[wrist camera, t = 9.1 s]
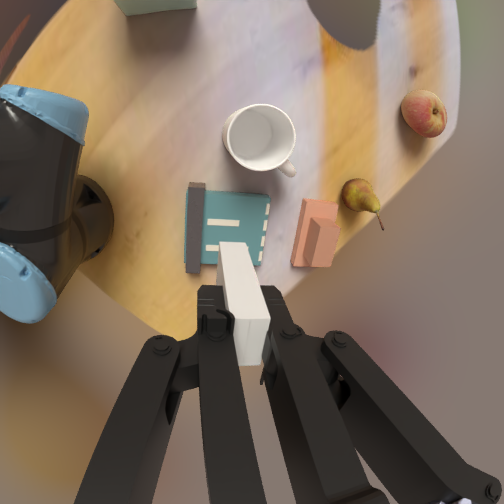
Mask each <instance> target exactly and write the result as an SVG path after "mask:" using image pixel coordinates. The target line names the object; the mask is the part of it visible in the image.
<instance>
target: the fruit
mask: <svg viewBox="0 0 504 504" xmlns="http://www.w3.org/2000/svg"><path fill="white" fill-rule="evenodd" d="M342 198H343V201H344V203H345V205H346V206H347V207H348V208H350V209H351V210H354V211H357V212H361V211H369V212H373V213H377V216H378V219H379V221H380V224H381V228H382V230H384V227H383V225H382V222H381V220H380V218H379V214H378V211H379V210H380V202H379V200H378V198H377V197H376V195H375V194H374V192H373V189H372V186H371V185H370V183H369V182H368V181H366V180H364V179H352V180H349V181H347V182H346V183H345V185H344V186H343V189H342Z"/></svg>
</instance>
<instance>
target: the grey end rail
mask: <svg viewBox="0 0 504 504" xmlns="http://www.w3.org/2000/svg"><path fill="white" fill-rule="evenodd" d="M204 192H205V183H194V182H190V183H189V187H188V204H187V228H186V273H200V261H201V239H202V221H203V206H204Z"/></svg>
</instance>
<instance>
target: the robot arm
mask: <svg viewBox="0 0 504 504" xmlns="http://www.w3.org/2000/svg"><path fill="white" fill-rule="evenodd" d="M88 118H89V111H88V108H87V106H86V105H85V104H84V103H83V102H82V101H79V100H77V99H74V98H71V97H68V96H64V95H61V94H57V93H53V92H49V91H45V90H40V89H35V88H28V87H22V86H18V85H10V84H6V85H3V86H2V87H1V89H0V311H1V312H3V313H4V314H5V315H7V316H8V317H10V318H12V319H14V320H17V321H19V322H23V323H35V322H38V321H40V320H42V319H43V318H44V317H45V316H46V315H47V314H48V312H49V311H50V310H51V309H52V308H53V307H54V306H55V304H56V301H57V299H58V297H59V295H60V294H61V292H62V291H63V289H64V287H65V286H66V284H67V283H68V281H69V280H70V278H71V277H72V275H73V274H74V272H75V270H76V269H77V268H78V266H79V265H80V264H81V263H83V262H85V261H87V260H90V259H92V258H93V257H95V256H96V255H98V254H99V253H100V252H101V251H102V250H103V248H104V247H105V245H106V244H107V242H108V241H109V239H110V237H111V234H112V231H113V225H114V216H113V210H112V206H111V203H110V201H109V199H108V197H107V195H106V193H105V192H104V190H103V189H102V188H101V187H100V186H99V185H98V184H97V183H96V182H95V181H93V180H92V179H90V178H88V177H85V176H82V175H77V174H78V168H79V163H80V158H81V153H82V148H83V146H85V141H84V137H85V132H86V127H87V123H88ZM216 284H217V285H202V286H201V287H200V288H199V290H198V293H197V331H196V333H195V334H194V335H193V336H192V337H190V338H188V339H185V340H182V341H176V340H175V339H174V338H173V337H170V336H167V335H157V336H153V337H151V338H150V339H148V340H147V341H146V343H145V344H144V346H143V348H142V350H141V352H140V354H139V356H138V358H137V359H136V361H135V364H134V365H133V368H132V370H131V372H130V374H129V376H128V378H127V380H126V382H125V384H124V386H123V388H122V390H121V392H120V394H119V397H118V399H117V401H116V403H115V405H114V407H113V409H112V412H111V414H110V416H109V418H108V420H107V423H106V425H105V427H104V429H103V432H102V434H101V436H100V439H99V441H98V443H97V446H96V448H95V450H94V453H93V455H92V458H91V460H90V463H89V465H88V468H87V470H86V473H85V475H84V478H83V480H82V483H81V486H80V488H79V491H78V494H77V496H76V499H75V502H74V504H152V500H153V496H154V493H155V489H156V485H157V481H158V478H159V474H160V471H161V467H162V463H163V460H164V456H165V453H166V449H167V446H168V442H169V439H170V435H171V432H172V428H173V425H174V422H175V418H176V415H177V412H178V408H179V405H180V401H181V398H182V395H183V391H186V390H189V389H193V388H197V387H199V396H200V410H201V411H200V412H201V426H202V438H203V450H204V458H205V459H204V460H205V469H206V478H207V487H208V494H209V501H210V504H267V502H266V498H265V494H264V489H263V485H262V481H261V477H260V472H259V467H258V462H257V458H256V453H255V449H254V444H253V439H252V434H251V429H250V424H249V420H248V414H247V409H246V404H245V398H244V393H243V387H242V382H241V376H240V371H239V366H249V365H260V363H261V359H263V362H264V368H263V372H262V375H261V379H260V385H262V384H263V381H264V382H265V386H266V390H267V394H268V398H269V402H270V406H271V410H272V414H273V418H274V422H275V426H276V429H277V433H278V437H279V441H280V445H281V449H282V452H283V456H284V460H285V464H286V467H287V471H288V475H289V479H290V482H291V486H292V489H293V493H294V497H295V500H296V504H390V503H389V501H388V499H387V497H386V495H385V494H384V493H383V492H382V491H381V490H379V489H376V488H373V487H372V486H371V485H370V483H369V482H368V479H367V477H366V474H365V472H364V469H363V467H362V465H361V462H360V460H359V457H358V455H357V453H356V450H357V451H358V452H359V454H360V455H361V456H362V458H363V459H364V460H365V461H366V463H367V464H368V466H369V467H370V468H371V470H372V471H373V472H374V473H375V475H376V476H377V477H378V479H379V480H380V481H381V482H382V484H383V485H384V486H385V488H386V489H387V490H388V491H389V492H390V494H391V495H392V496H393V498H394V499H395V500H396V501H397V502H398V503H399V504H496V503H497V502H498V501H499V499H500V496H501V492H502V488H501V483H500V482H499V480H498V479H497V478H495V477H493V476H491V475H488V474H487V473H484V472H482V471H480V470H478V469H476V468H474V467H472V466H470V465H468V464H467V463H466V462H465V461H464V460H463V459H462V458H461V457H460V455H459V454H458V453H457V452H456V451H455V450H454V449H453V448H452V447H451V445H450V444H449V443H448V442H447V441H446V440H445V439H444V437H443V436H442V435H441V434H440V433H439V432H438V431H437V430H436V429H435V427H434V426H433V425H432V424H431V423H430V422H429V421H428V420H427V419H426V418H425V417H424V415H423V414H422V413H421V412H420V411H419V410H418V409H417V408H416V407H415V405H414V404H413V403H412V402H411V401H410V400H409V399H408V398H407V397H406V395H405V394H403V392H402V391H401V390H400V389H399V388H398V387H397V386H396V385H395V384H394V382H393V381H392V380H391V379H390V378H389V377H388V376H387V375H386V374H385V373H384V372H383V371H382V369H381V368H380V367H379V366H378V365H377V364H376V363H375V362H374V361H373V360H372V359H371V358H370V357H369V356H368V354H367V353H366V352H365V351H364V350H363V349H362V348H361V347H360V346H359V345H358V344H357V343H356V342H355V341H354V339H353V338H352V337H351V336H349V335H348V334H346V333H344V332H342V331H330V332H328V333H327V334H326V335H325V337H324V338H319V337H313V336H309V335H306V334H305V332H304V331H303V329H302V328H301V327H299V326H298V325H296V324H294V323H293V320H292V318H291V316H290V313H289V311H288V308H287V306H286V305H285V301H284V300H283V297H282V294H281V292H280V291H279V290H278V289H277V288H276V287H275V286H261V285H259V282H258V279H257V276H256V273H255V270H254V267H253V264H252V261H251V258H250V255H249V252H248V249H247V246H246V243H243V242H220V241H219V252H218V265H217V279H216ZM340 375H341V376H342V377H341V376H340ZM354 447H355V448H356V450H355V448H354Z"/></svg>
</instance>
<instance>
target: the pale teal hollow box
mask: <svg viewBox="0 0 504 504" xmlns="http://www.w3.org/2000/svg"><path fill="white" fill-rule="evenodd" d="M113 1H114V2H115V3H116V4H117V5H118V7H119V8H120V9H121V10H122V11H123V13H124V14H125V15H126V16H130V15H139V14H147V13H153V12H160V11H168V10H178V9H193V8H196V7H197V2H196V0H113Z"/></svg>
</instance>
